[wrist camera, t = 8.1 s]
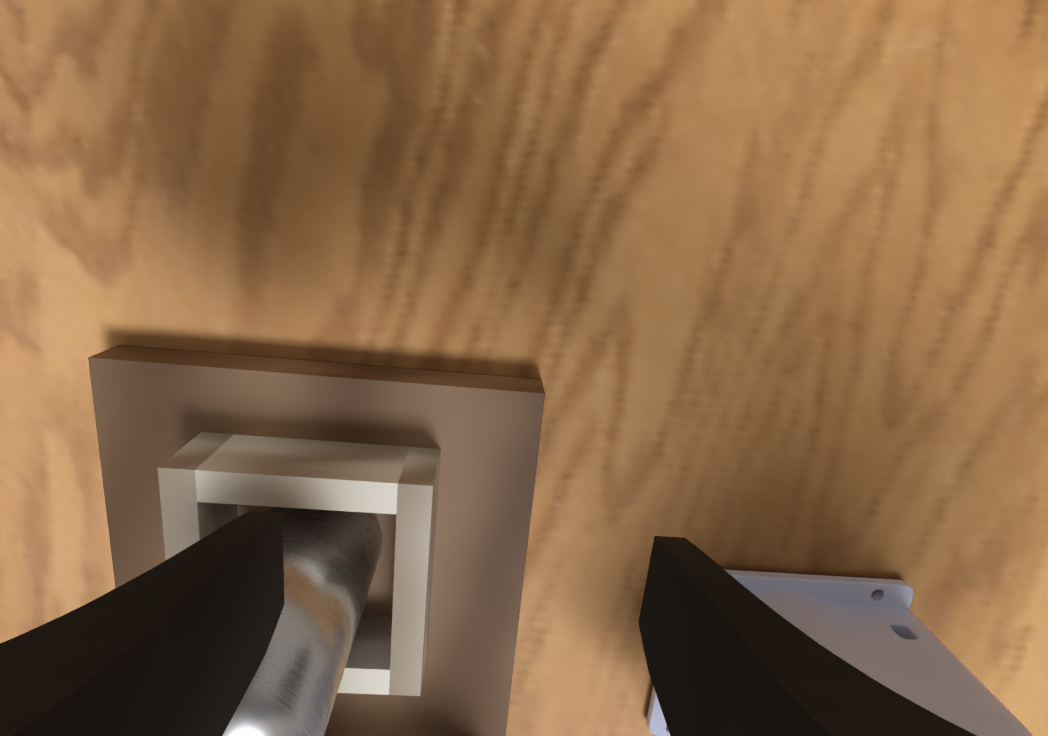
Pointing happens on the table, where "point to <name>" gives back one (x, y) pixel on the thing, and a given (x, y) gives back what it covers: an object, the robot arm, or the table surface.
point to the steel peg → (311, 622)
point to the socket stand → (344, 505)
